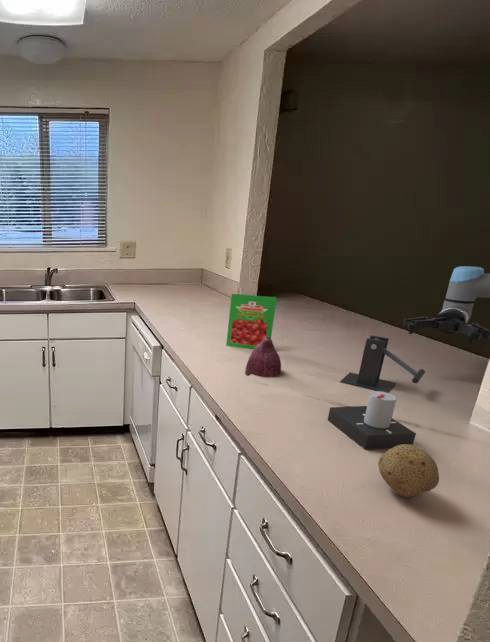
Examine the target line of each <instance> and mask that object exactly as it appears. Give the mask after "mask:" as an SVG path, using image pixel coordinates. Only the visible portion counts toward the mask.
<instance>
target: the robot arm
mask: <svg viewBox="0 0 490 642" xmlns="http://www.w3.org/2000/svg"><path fill="white" fill-rule="evenodd" d="M477 298H485V299H490V273H486V272H485V269H484V268H483V267H480V266H467V265H462V266H457V267H455V268H454V269H453V271H452V273H451V277H450V279H449V282H448V286H447V290H446V294H445V298H444V300H443V305H442V308H441V311H440V312H439V313H438V314H437V315H436V317H431V319H430V318H429V317H428V316H427V315H421V316H416V317H410V318H409V317H408V318H404V319H403V323H402V327H403V328H406V329H407V330H408V335H413V334H414V333H415V332H416V331H417V330H418V329H429V330H432V331H433V330H437V331H438V332H439V333H441V334H444V335H454V334H463V335H466V336H468V337H469V339H468V344H471V345H472V344H473V343H474V341H475V340H480V339H481V338H482V339H483V340H487V341H488V340H490V329H489V328H487V327H485V326H482V325H480V323H478V322H471V324H468V322H469V321H470V319H471V318H472V315H473V309H474V305H475V302H476V299H477Z"/></svg>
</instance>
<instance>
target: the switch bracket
mask: <svg viewBox="0 0 490 642" xmlns="http://www.w3.org/2000/svg"><path fill="white" fill-rule="evenodd" d="M375 338H378V339H379V340H375ZM389 341H390V339H389V337H384V336H377V335H373V334H371V335H370V336H369V338H368V337H367V338H366V339H365V344H364V348H363V352H362V358H361V362H360V365H359V366H360V367H359V370H358V373H354V372H348V373H347V374H346V375H345V376H343V378H341V379H340V381H339V383H340V384H346V385H349V386H353V387H357V388H361V389H366V390H368V391H369V390H370V391H381V392H386V393H390V392H391V390H392V389H393V388H394V386H395V385H396V382H395V381H391V380H386V379H382V378H380V377H381V374H382V370H383V369H382V368H383V364H384V361H385V357H386V354H384V353H383V350H384V348H386V349H387V350H388V343H389Z"/></svg>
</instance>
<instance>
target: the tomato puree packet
mask: <svg viewBox="0 0 490 642" xmlns="http://www.w3.org/2000/svg"><path fill="white" fill-rule="evenodd" d="M277 299H278V297H276V296H264V295H253V294H252V295H251V294H239V293H231V297H230V306H229V313H228V314H229V315H228V323H227V324H228V325H227V335H226V344H225V346H227V347H232V348H240V349H247V350H254V348H255V347H256V346H257V345H258V344H259V343H261V342H262V341H263V340H264V339H265V338H266V337H267V336H268V337H270V338H271V339H272V333H273V332H272V331H273V327H274V318H275V313H276V304H277Z"/></svg>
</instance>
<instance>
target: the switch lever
mask: <svg viewBox="0 0 490 642" xmlns="http://www.w3.org/2000/svg"><path fill="white" fill-rule="evenodd" d="M375 340H379V339H378V338H375ZM383 353H384V354H385V356H387V357H388V358H389V359H391V360H392V361H394V362H395V363H396V364H397V365H398V366H400V367H401V368H402V369H404V370H405V371H406V372H408V373H409V374H411V375H412V376H413V378H412V379H411V382H412V383H413V384H418V383H419V382H420V381H421V379H422V377H423V376H424V375H425V373H426V371H425V370H424V369H423V368H420V369H418V371H417V370H415V369H414V368H412V367H411V366H410V365H409V364H407V363H406V362H404V361H403V360H402V359H400V358H399V357H397V356H396V355H395V354H394V353H392V352H391V351H390V350H388V348H387V349H386V348H384V350H383Z"/></svg>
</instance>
